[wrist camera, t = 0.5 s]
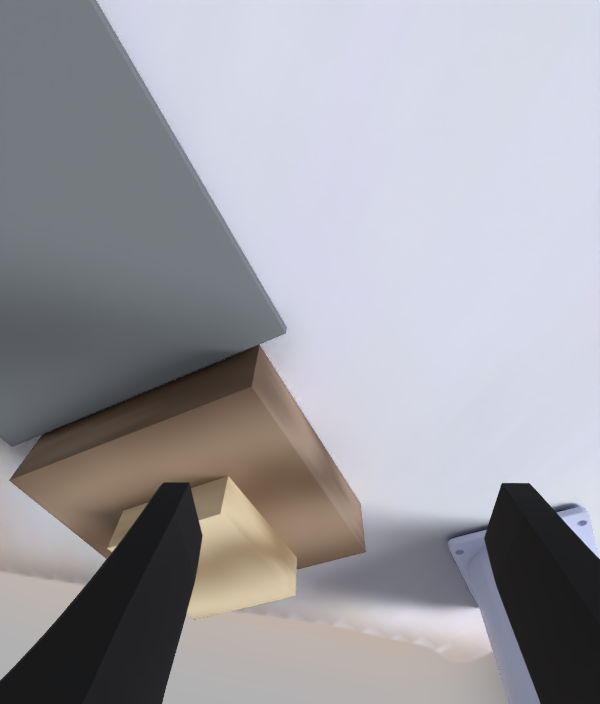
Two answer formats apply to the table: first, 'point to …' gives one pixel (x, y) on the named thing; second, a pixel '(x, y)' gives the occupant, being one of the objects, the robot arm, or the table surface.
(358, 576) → the table surface
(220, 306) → the charcoal mat
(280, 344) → the table surface
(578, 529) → the robot arm
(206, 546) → the birch tile
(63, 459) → the block
